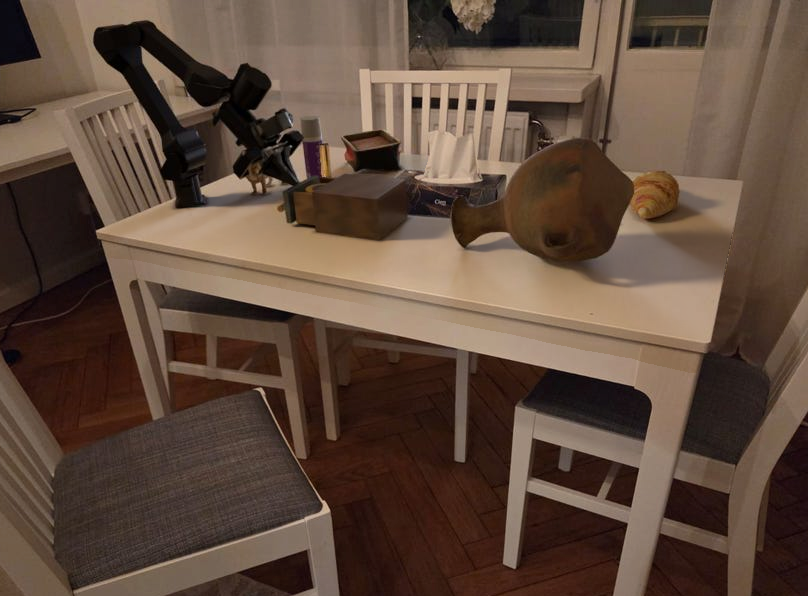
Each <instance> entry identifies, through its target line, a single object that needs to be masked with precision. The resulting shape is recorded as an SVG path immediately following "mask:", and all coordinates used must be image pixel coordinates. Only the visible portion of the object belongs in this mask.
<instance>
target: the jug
mask: <svg viewBox="0 0 808 596" xmlns="http://www.w3.org/2000/svg"><path fill="white" fill-rule="evenodd" d="M632 180H633V179H631V178H630V176H628V175H627V174H626V173H624V172H623V171H622V170H621V169H620V168H619V167H618V166H617V165H616V164H615V163H614V162H613V161H612V160H611V159H610V158H609V157H608V156H607V155H606V154H605V152H604V151H603V150H602V148H601V147H600V146H599V145H598V143H596V141H594V140H593V139H590V138H588V137H573V138H568V139H563V140H561V141H558V142H555V143H552V144H550V145H548V146H546V147H544V148H542V149H539V150H538V151H537V152H535V153H533V154H532V155H531V156H529V157H528V158H527V159H525V160H524V161H523V162H522V163H521V164H519V166H518V167H517V168H516V169H515V171H514V172H513V173H512V175H511V177H510V179H509V181H508V183H507V185H506V187H505V190H504V193H503V195H502V196H501V197H499V198H498V199H496V200H494V201H491V202H488V203H485V204H480V205H475V204H472V203H471V202H470V200H469V199H468V197H467V196H465V195H457V196H456V197H455V198H454V199H453V201H452V205H451V210H450V217H449V218H450V219H449V220H450V225H451V230H452V233H453V236H454V238H455V241H456V242H457V243H458V245H459V246H460V247H461V248H463V249H466V248H467V247H468V246H469V245H470V244H471V243H473V242H475V241H476V240H477V239H478V238H481V236H484V235H487V234H492V233H493V234H494V233H506V234H509V236H510V237H511V239H512V241H514V243H515V244H516V245H517V246H518V247H520V248H521V249H522V250H524V251H525V252H527V253H529V254H531V255H532V256H535V257H538V258H540V259H543V260H548V261H554V262H560V263H561V262H562V263H578V262H584V261H585V262H586V261H589V260H593V259H596V258H599V257H601V256H604V255H605V254H607V253H608V252H609V251H610V250H611V249H612V247H613V245H614V244H615V241H616V238H617V236H618V233H619V229H620V226H621V224H622V221H623V218H624V216H625V214H626V212H627V210H628V208H629V206H630V205H629V204H630V201H631V199H632V197H633V194H634V184H633V182H632Z"/></svg>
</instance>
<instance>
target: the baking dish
mask: <svg viewBox="0 0 808 596" xmlns="http://www.w3.org/2000/svg"><path fill="white" fill-rule="evenodd" d="M340 139H341V141H342V143H343V144H344V147H345V150H346V151H345V152H344V153H343V154H344V155H343V156H344V160H345V161H346V164H349V165H350V166H351V169H352V170H353V171H354V173H358V172H360V171H363V170H372V171H373V170H374V171H385V172H393V171H402V167H401V165H400V158H401V157H400V156H401V152H402V149H401V147H400V146H401V144H402V141H401V140H400V139H397V138H396V137H395V136H393V135H392V134H390V133H389V132H388V131H387V130H385V129H381V128H380V129H372V130H365V131H359V132H353V133H348V134H343V135H341V137H340Z"/></svg>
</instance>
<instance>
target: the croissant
mask: <svg viewBox="0 0 808 596" xmlns="http://www.w3.org/2000/svg"><path fill="white" fill-rule="evenodd" d="M631 180H632V182H633V184H634V194H633V197H632V199H631V201H630V204H629V206H630V207H631V208H632V209H633V211H634V212H635V213H637V214H638V217H640V218H641V219H645V220H647V219H648V220H649V219H653V218H658V217H662V216H663V215H665V214H667V213H670V212H671V211H674V210H675V209H677V206H678V203H679V198H680V185H679V183H678V180H677V179H676V178H675V177H674V176H673V175H672V174H670V173H668V172H666V171H665V170H653V171H649V172H645V173H642V174H640V175H638V176H636V177H635V178H632V179H631Z"/></svg>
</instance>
